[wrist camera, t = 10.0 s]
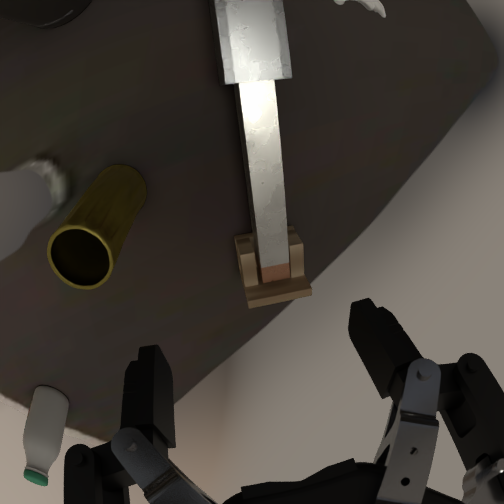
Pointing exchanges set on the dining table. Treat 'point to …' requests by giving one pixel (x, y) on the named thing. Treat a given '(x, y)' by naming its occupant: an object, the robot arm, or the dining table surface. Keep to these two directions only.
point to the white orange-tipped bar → (264, 176)
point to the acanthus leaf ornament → (368, 5)
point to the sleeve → (250, 40)
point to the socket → (273, 290)
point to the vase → (97, 228)
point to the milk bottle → (44, 432)
